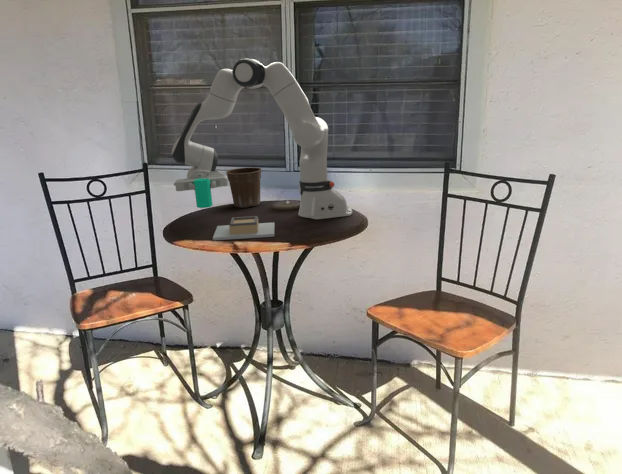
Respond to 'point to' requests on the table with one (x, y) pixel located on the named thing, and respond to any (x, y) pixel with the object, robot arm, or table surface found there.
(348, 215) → the robot arm
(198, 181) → the candle
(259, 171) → the plant pot
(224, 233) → the board
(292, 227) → the table surface
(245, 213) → the table surface
